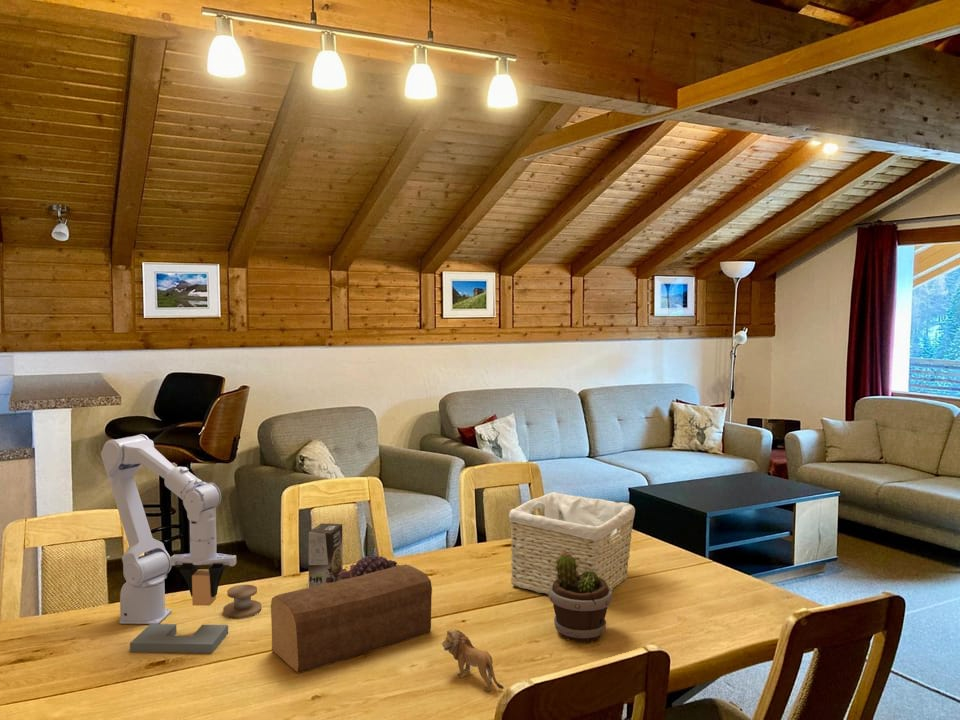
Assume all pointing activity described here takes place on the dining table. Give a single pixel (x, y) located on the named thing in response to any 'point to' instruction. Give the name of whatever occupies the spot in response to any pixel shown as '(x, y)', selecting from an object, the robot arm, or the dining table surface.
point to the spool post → (242, 602)
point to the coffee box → (325, 554)
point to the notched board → (178, 639)
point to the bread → (350, 616)
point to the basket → (569, 539)
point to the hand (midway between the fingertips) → (204, 595)
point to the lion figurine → (469, 657)
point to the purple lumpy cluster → (367, 566)
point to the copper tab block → (202, 588)
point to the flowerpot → (579, 601)
